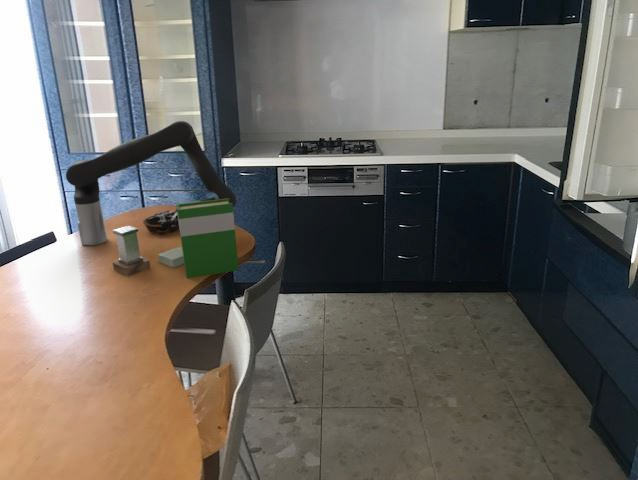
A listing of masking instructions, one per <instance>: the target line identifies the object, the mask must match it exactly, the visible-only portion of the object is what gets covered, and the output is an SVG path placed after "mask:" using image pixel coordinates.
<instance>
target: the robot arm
mask: <svg viewBox="0 0 638 480" xmlns="http://www.w3.org/2000/svg"><path fill="white" fill-rule="evenodd" d="M177 147H181V148H182V149H183V151H184V152H185V154H186V155H187V157H188V159H189V160H190V162H191V164H192V166H193V169H194V171H195V172H196V175H197V176H198V178H199V179H200V180H199V181H200V182H201V183H202V184H203V186H204V187H205V189H206V190H207V192H209V193H215V196H213V197H206V198H203V199H200V200H195V201H190V202H189V203H192V202H201V201H209V200H218V199H226V198H229V201H230V203H232V204H233V208H234V207H236V206H237V204H238V203H237V201H238V200H237V196H236V194H235V193H234V192H233V190H232V189H231V188H230V187H229V186H228V185H227V184H226V183H225V182H224V181H223V180H222V179H221V177H220V176H219V174H218V173H217V171H216V169H215V168H214V167H213V165H212V163H211V161H210V160H209V158H208V157H207V156H206V154H205V152H204V150H203V148H202V146H201V145H200V142H199V140H198V138H197V136H196V133H195V130H194V128H193V126H192V124H190V123H189V122H187V121H183V120H179V121H174V122H173V123H171V124H170V125H167V126H166V127H164V128H162V129H160V130H158V131H156V132H153V133H151V134H147V135H143V136H140V137H137V138H134V139H131V140H129V141H125V142H123V143H121V144H119V145H116V146H115V147H113V148H111V149H109V150H107V151H105V152H104V153H102V154H101V155H99V156H97V157H95V158H92V159H89V160H84V159H81V160H78V161H75V162H73V163H72V164H71V165H70V166H68V168H67V170H66V172H65V179H66V181H67V183H69V184H70V185H72V186H74V194H73V195H74V196H73V201H74V204H75V205H74V206H75V210H76V215H77V220H78V222H77V228H78V231H79V232H78V234H79V238H80V243H81V245H82V246H96V245H101V244H104V243H106V242H107V241H108V237H107V229H106V225H105V220H104V215H103V210H102V209H103V208H102V203H101V199H100V184H99V179H101V178H102V177H105V176H107V175H110V174H113V173H117V172H120V171H124V170H127V169H129V168H131V167H134V166H137V165H139V164H141V163H143V162H146V161H148V160H149V159H151V158H153V157H155V156H156V155H158V154H159V153H163V152H164V151H167V150H170V149H173V148H177ZM154 215H155V217H152V218H149V219H148V224H149V225H151V224H154V223H157V222H162V223H161V228H163V229H164V228H167V227H170V226H175V225H176V227H179V221H178V214H177V208H176V209H175V210H172V211H170V210H165V211H161V212H157V213H155V214H154ZM160 217H161V218H160ZM166 218H167V220H166ZM162 219H163V220H162Z"/></svg>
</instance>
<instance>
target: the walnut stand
mask: <svg viewBox="0 0 638 480" xmlns="http://www.w3.org/2000/svg"><path fill="white" fill-rule="evenodd" d="M112 267H113V271H114V272H116V273H118V274H122V275H123V276H126V277H127V278H128V277H130V276H133V275H136V274H138V273H141V272H143V271H146V270H149V269H151V262H150V260H149V259H148V258H144V257H143V261H141V262H138V263H135V264H132V265H129V266H126V265H124V264H122V263H119V261H118V260H116V261H113V262H112Z"/></svg>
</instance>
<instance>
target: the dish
mask: <svg viewBox="0 0 638 480" xmlns="http://www.w3.org/2000/svg"><path fill="white" fill-rule="evenodd" d="M152 217H155V214H154V215H151V216H148V217H146V218H144V220H143V221H142V224H143V225H144V226H145V227H146V230H147V231H149V232H150V233H152V234H157V235H160V236H165V235H168V234H171V233H174V232H176V231H180V229H179V227H176V225H175V226H170V227H167V228H164V229H163V228H161V223H162V222H157V223H154V224H151V225H149V224H148V219H149V218H152ZM160 218H161V217H160ZM162 220H163V219H162ZM166 220H167V218H166Z"/></svg>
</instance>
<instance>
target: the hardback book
mask: <svg viewBox="0 0 638 480" xmlns="http://www.w3.org/2000/svg"><path fill="white" fill-rule="evenodd" d="M191 202H192V203H190V202H183V203H176V204H175V206H176V207H175V208H176V209H177V214H178V221H179V236H180V242H181V248H182V250H183V258H184V264H183V265H184V270H185V276H186V279H191V278H199V277H204V276H211V275H217V274H222V273H229V272H235V271H239V270H240V268H239V259H238V258H239V257H238V248H237V247H238V246H237V236H236V228H235V215H234V207H233V204H232V203H230V201H229V198H226V199H218V200H209V201H201V202H193V201H191Z"/></svg>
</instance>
